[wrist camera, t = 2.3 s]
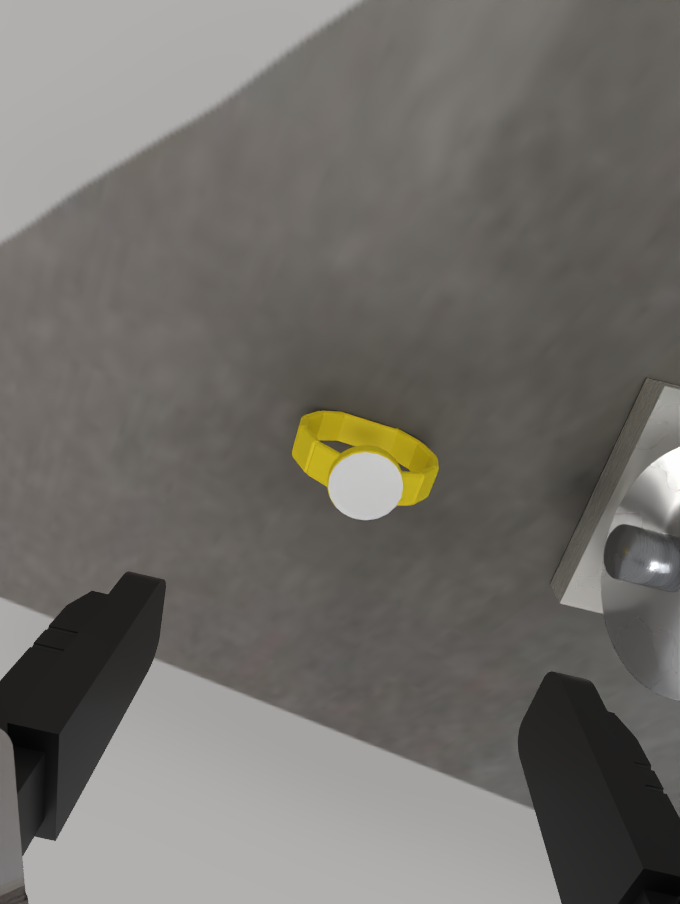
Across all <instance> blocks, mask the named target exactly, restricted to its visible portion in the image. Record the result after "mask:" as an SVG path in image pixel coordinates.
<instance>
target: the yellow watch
mask: <svg viewBox="0 0 680 904" xmlns="http://www.w3.org/2000/svg"><path fill="white" fill-rule="evenodd" d="M319 440H324V441H336V440H337V441H340V442H343V443H346V444H349V445H353V446H354V447H351V448H349V449H347V450H345V451H343V452H342V453H339V452H338V451H336V450H334V449H332V448H330V447H329V446H327V445H325V444H323V443H322V442H320V441H319ZM292 455H293V458H294V459H295V460H296V462H297V463H298V464H299V466H300V467H301V468H302V469H303V471H304V472H305V473H307V474H308V476H310V477H312V478H313V479H315V480H317V481H318V482H320V483H321V484H323V485H325V486H326V487H327V489H328V494H329V497H330V499H331V500H332V502H333V504H334V505H335V507H336V508H337V509H339V510H340V511H341V512H342V513H343V514H345V515H347V516H349V517H351V518H354V519H360V520H372V519H378V518H380V517H382V516H384V515H386V514H388V513H389V512H390V511H391V510H393V509H394V508H395V507H396V506H409V505H414V504H416V503H418V502H420V501H422V500H423V499H425V498H427V497H428V495H429V493H430V490H431V488H432V485H433V483H434V481H435V478H436V476H437V473H438V471H439V466H438V459H437V457H436V455H435V454H434V453H433V452H432V451H431V450H430V449H429V448H428V447H427V446H426V445H425V444H424V443H421V441H419V440H418V439H416V438H414V437H412V436H411V435H409V434H407V433H405V432H404V431H402V430H399V428H396V429H395V428H392V427H389V426H385V425H382V424H379V423H376V422H373V421H369V420H366V419H363V418H360V417H357V416H353V415H350V414H347V413H344V412H340V411H316V412H313V413H310V414H307V415H304V416H303V417H301V421H300V424H299V428H298V431H297V435H296V438H295V442H294V446H293V450H292ZM398 463H399V464H401V465H402V466H404V467H406V468H407V469H409V470H410V472H409V471H401V468H400V466H399V464H398Z"/></svg>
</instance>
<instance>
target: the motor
mask: <svg viewBox="0 0 680 904" xmlns="http://www.w3.org/2000/svg"><path fill="white" fill-rule="evenodd" d="M550 586H551V588H552V589H553V591H554V593H555V595H556V597H557V599H558V601H559V603H560V604H564V605H569V606H573V607H577V608H581V609H585V610H589V611H593V612H598V613H602V614H604V618H605V623H606V626H607V630H608V633H609V636H610V639H611V641H612V644H613V646H614V648H615V650H616V652H617V654H618V656H619V658H620V660H621V661H622V663H623V664H624V665H625V667H626V668H627V670H628V671H629V672H630V673H631V674H632V675H633V676H634V678H635V679H636V680H638V681H639V682H640V683H641V684H642V685H644V686H645V687H646V688H648V689H649V690H651V691H653V692H654V693H656V694H659V695H661V696H664V697H667V698H670V699H674V700H678V701H680V386H677V385H673V384H669V383H665V382H661V381H657V380H653V379H649V378H646V380H645V382H644V384H643V386H642V389H641V391H640V393H639V395H638V397H637V399H636V401H635V404H634V406H633V408H632V410H631V412H630V414H629V416H628V419H627V421H626V423H625V425H624V427H623V429H622V431H621V434H620V436H619V438H618V440H617V442H616V444H615V446H614V449H613V451H612V453H611V455H610V457H609V459H608V461H607V464H606V466H605V468H604V470H603V472H602V474H601V476H600V479H599V481H598V483H597V485H596V487H595V489H594V491H593V494H592V496H591V498H590V500H589V502H588V504H587V506H586V509H585V511H584V513H583V515H582V517H581V519H580V521H579V524H578V526H577V528H576V530H575V532H574V534H573V536H572V539H571V541H570V543H569V545H568V547H567V549H566V551H565V554H564V556H563V558H562V560H561V562H560V564H559V566H558V569H557V571H556V573H555V575H554V577H553V579H552V582H551V584H550Z"/></svg>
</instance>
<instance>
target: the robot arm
mask: <svg viewBox="0 0 680 904" xmlns="http://www.w3.org/2000/svg"><path fill="white" fill-rule="evenodd" d="M165 589H166V582H165V580H163V579H159V578H155V577H150V576H146V575H142V574H138V573H133V572H126V573H125V574H124V575H123V576H122V577H121V579H120V580H119V581H118V583H117V584H116V585H115V586H114V588H113V589H112V590H111V591H110V593H109V594H104V593H99V592H95V591H91V592H89V593H88V594H86V595H84V596H82V597H81V598H79V599H77V600H75V601H74V602H72V603H70V604H68V605H67V606H66V607H65V608H64V609H63V610H62V611H61V613H60V614H59V615H58V616H57V617H56V618H55V619H54V620H53V622H52V623H51V624H50V625H49V628H48V629H47V630H45V631H44V632H43V633H42V634H41V635H40V637H39V638H38V639H37V640H36V641H35V642H34V645H33V647H30V648H29V649H28V650H27V651H26V652H25V653H24V655H23V656H22V657H21V658H20V659H19V660H18V661H17V662H16V664H15V665H14V666H13V667H12V668H11V669H10V670H9V672H8V673H7V674H6V675H5V676H4V677H3V678H2V679H1V681H0V904H28V898H27V895H26V893H25V884H24V873H23V861H22V856H23V855H24V853H25V851H26V850H27V848H28V846H29V844H30V843H31V841H32V839H33V838H34V836H36V837H40V838H45V839H49V840H54V841H56V839H57V837H58V835H59V833H60V831H61V830H62V828H63V826H64V824H65V822H66V821H67V819H68V817H69V815H70V813H71V811H72V810H73V808H74V806H75V804H76V802H77V800H78V799H79V797H80V795H81V793H82V791H83V789H84V788H85V786H86V784H87V782H88V780H89V778H90V777H91V775H92V773H93V771H94V769H95V767H96V766H97V764H98V762H99V760H100V758H101V756H102V754H103V753H104V751H105V749H106V747H107V745H108V743H109V742H110V740H111V738H112V736H113V734H114V733H115V731H116V729H117V727H118V725H119V724H120V722H121V720H122V718H123V716H124V714H125V713H126V711H127V709H128V707H129V705H130V703H131V702H132V700H133V698H134V696H135V694H136V692H137V691H138V689H139V687H140V685H141V683H142V681H143V679H144V678H145V676H146V674H147V672H148V670H149V668H150V666H151V664H152V661H153V659H154V656H155V653H156V650H157V646H158V642H159V637H160V629H161V621H162V613H163V605H164V597H165ZM518 751H519V756H520V760H521V764H522V767H523V771H524V774H525V778H526V781H527V785H528V788H529V791H530V795H531V798H532V802H533V805H534V809H535V812H536V816H537V819H538V822H539V826H540V830H541V833H542V837H543V840H544V843H545V847H546V850H547V854H548V857H549V861H550V864H551V867H552V871H553V875H554V878H555V882H556V885H557V889H558V892H559V895H560V899H561V903H562V904H680V818H679V816H678V814H677V812H676V811H675V809H674V807H673V805H672V803H671V801H670V799H669V798H668V796H667V794H664V793H663V789H664V788H663V787H662V785H661V783H660V781H659V779H658V777H657V775H656V774H655V772H654V771H652V770H651V764H650V763H649V761H648V759H647V757H646V755H645V753H644V751H643V750H642V748H641V746H640V744H639V742H638V740H637V738H636V737H635V736H634V735H633V734H632V733H631V732H630V731H629V729H628V728H627V727H626V726H625V725H624V724H623V723H622V722H621V720H620V719H619V718H618V717H617V716H616V715H615V714H614V713H611V712H608V711H607V710H606V708H605V706H604V704H603V702H602V700H601V698H600V696H599V694H598V692H597V690H596V688H595V686H594V685H593V683H592V682H591V681H589V680H587V679H583V678H578V677H574V676H570V675H566V674H561V673H557V672H549V673H547V674H546V676H545V677H544V679H543V681H542V683H541V685H540V687H539V689H538V691H537V693H536V695H535V697H534V699H533V701H532V703H531V705H530V707H529V709H528V711H527V713H526V715H525V716H524V718H523V720H522V723H521V725H520V729H519V735H518Z"/></svg>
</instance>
